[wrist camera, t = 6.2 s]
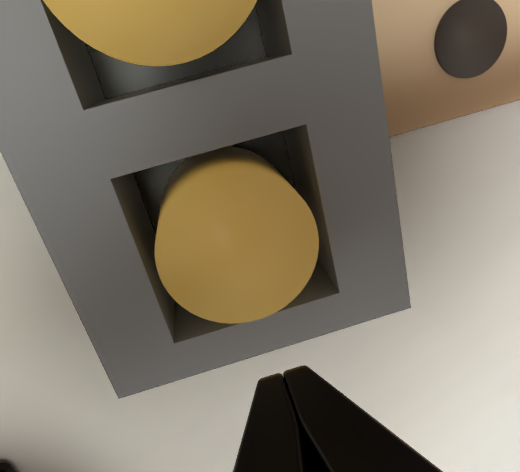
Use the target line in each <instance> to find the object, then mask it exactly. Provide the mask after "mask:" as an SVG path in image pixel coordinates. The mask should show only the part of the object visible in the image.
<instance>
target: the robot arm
mask: <svg viewBox="0 0 520 472" xmlns="http://www.w3.org/2000/svg"><path fill="white" fill-rule="evenodd" d="M0 472H15V471H14V469H13V468H12V467H11V466H10V465H9V464H7V463H2V462H0ZM233 472H443V471H441V470H440V469H439V468H437V467H436V466H435V465H434V464H432V463H431V462H430V461H428V460H427V459H426V458H425V457H423V456H422V455H421V454H419V453H418V452H417V451H416V450H414V449H413V448H412V447H410V446H409V445H408V444H407V443H405V442H404V441H403V440H401V439H400V438H399V437H398V436H396V435H395V434H394V433H392V432H391V431H390V430H389V429H387V428H386V427H385V426H383V425H382V424H381V423H380V422H378V421H377V420H376V419H374V418H373V417H372V416H370V415H369V414H368V413H367V412H365V411H364V410H363V409H361V408H360V407H359V406H358V405H356V404H355V403H354V402H352V401H351V400H350V399H349V398H347V397H346V396H345V395H343V394H342V393H341V392H340V391H338V390H337V389H336V388H334V387H333V386H332V385H331V384H329V383H328V382H327V381H325V380H324V379H323V378H322V377H320V376H319V375H318V374H316V373H315V372H314V371H313V370H311V369H310V368H309V367H307V366H300V367H296V368H293V369H290V370H287V371H285V372H284V374H283V375H282V374H280V373H277V374H274V375H271V376H268V377H264V378H261V379H260V380H259V381H258V384H257V387H256V390H255V394H254V398H253V401H252V405H251V408H250V412H249V416H248V419H247V423H246V426H245V430H244V434H243V437H242V441H241V444H240V448H239V452H238V455H237V459H236V462H235V466H234V470H233Z"/></svg>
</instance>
